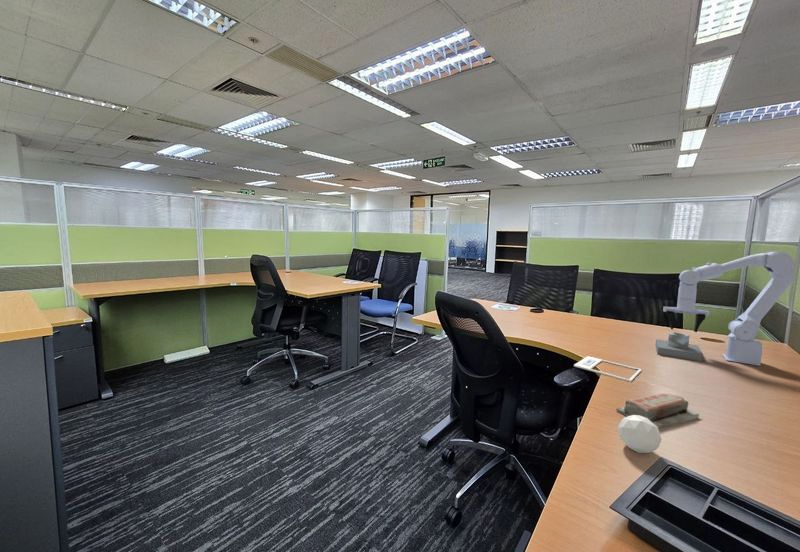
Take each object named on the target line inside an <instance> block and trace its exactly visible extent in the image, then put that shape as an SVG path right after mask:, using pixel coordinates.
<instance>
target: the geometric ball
mask: <svg viewBox="0 0 800 552" xmlns="http://www.w3.org/2000/svg"><path fill="white" fill-rule="evenodd" d="M617 431H618V434H619V438H620V440H621V441H622V442H623V443H624V444H625V445H626V446H627V447H628V448H629V449H630V450H632V451H635V452H636V453H638V454H648V453H653V452H654V451H656V450H657V449H659V447H660V446H661V445H660V444H661V442H662V437H661V433H660V428H659V429H658V427H657V426H656V425H655V424H653V423H652V422H651V421H650V420H649V419H648V418H645V417H643V416H640V415H631V416H628V417H627V416H625V417H624V418H622V419H621V421H620V422H619V425H618V427H617Z"/></svg>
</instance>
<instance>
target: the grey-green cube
mask: <svg viewBox="0 0 800 552" xmlns="http://www.w3.org/2000/svg"><path fill="white" fill-rule="evenodd" d="M667 341H668V346H672V347H677V348H681V349H684V348H687V347H688V346H689V344H690V335H689V334H684V333H679V332H675V331H674V332H671V333H668V339H667Z"/></svg>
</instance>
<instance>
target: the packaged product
mask: <svg viewBox="0 0 800 552" xmlns="http://www.w3.org/2000/svg"><path fill="white" fill-rule="evenodd" d="M624 404H625V406H622V407H617V408H615V409H616V411H617V412H618V413H619V414H622V415H623V416H625V417H628V416H631V415H640V416H643V417H645V418H648V419H649V420H650V421H651V422H652V423H653V424H655V425H656V426H657V427H658V428H659V429H662V428H666V426H667V427H671V426H674V425H678V423H679V424H683V423H686V421H687V422H690V421H693V420H697V419H699V417H700V413H698V412H696V411H693V410H690V409H688V407H689V401H688V400H686V399H684V397H681V396H679V395H673V394H670V393H665V392H664V393H661V392H660V393H657V394H652V395H647V396H641V397H637V398H631V399H627V400H625V403H624ZM689 420H690V421H689ZM682 422H683V423H682ZM661 427H662V428H661Z"/></svg>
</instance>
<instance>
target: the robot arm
mask: <svg viewBox="0 0 800 552" xmlns="http://www.w3.org/2000/svg"><path fill="white" fill-rule="evenodd" d="M795 264H796V262H795V260H794V259H793V258H792V256H791V255H790V254H789V253H787V252H784V251H766V252H762V253H754V254H751V255H746V256H744V257H741V258H737V259H733V260H731V261H728V262H725V263H720V264H719V263H717V262H712V263H711V262H706V264H705V265H701V266H698V267H691V270H690V269H685V270H683V271H682V272H680V274H679V276H678V280H679V287H678V294H677V303H676V306H663V309H662V311H663V312H664V313H666V315H667V318H668V320H669V324H670V330H674V320H675V313H676V314H677V313H679V314H686V315H687V314H688V315H695V321H694V328H693V332H695V333H697V332H698V330H699V327H700V326H701V324H702V323H703V322H704V320H705V319H706V317H709V316H710V311H709V310H704V309H698V308H696V300H697V292H698V288H697V285H698V283H699V282H703V281H707V280H712V279H715V278H719V277H722V276H723V274H724V273H726V272H728V271H733V270H738V269H742V268H745V267H751V266H754V267H755V266H756V267H763V268H764V269H766V270H767V271H768V273H769V275H770V277H771V278H770V280H769V281H768V282H767V284H766V285H765V286H764V287H763V288H762V290H761V291H760V293H759V294H758V295H757V296H756V298H755V299H754V300H753V301H752V302H751V304H750V305H749V307H747V309H746V310H745V311H744V312H743V313H742V314H740V315H738V317H737V318H736V319H734V320H732V321H730V322H729V323H728V326H727V329H728V330H729V331H730V333H729V334H728V335H727V342H726V349H725V350H726V351H725V353H723V354H722V357H724V359H725V360H726V361H728V362H735V363H740V364H746V365H753V366H759V367H761V362H762V356H763V342H762V341H761V340H757V339H756V340H755V338H756V336H757V335H758V329H759V327H760V326H761V321H762V319H763V318H764V317H765V316H766V314H768V312H769V311H770V310H771V309H772V308H773V307H774V305H775V304H776V303H777V301H778V300H779V299H780V298H781V296H782V295H783V294H784V293H785V292H786V291H787V289H788V288H789V287H790V286H791V285H792V283H794V280H795Z"/></svg>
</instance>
